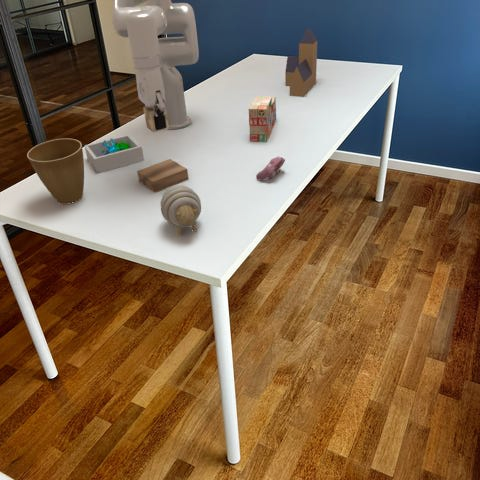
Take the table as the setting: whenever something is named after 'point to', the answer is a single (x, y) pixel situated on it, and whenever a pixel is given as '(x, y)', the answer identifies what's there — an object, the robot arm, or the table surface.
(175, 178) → the base block
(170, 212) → the toy sheep
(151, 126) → the oak block
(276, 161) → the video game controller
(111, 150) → the green blue spiky piece
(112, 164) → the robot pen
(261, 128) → the stack of blocks
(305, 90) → the toy building blocks
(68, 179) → the plant pot
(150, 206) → the table surface
